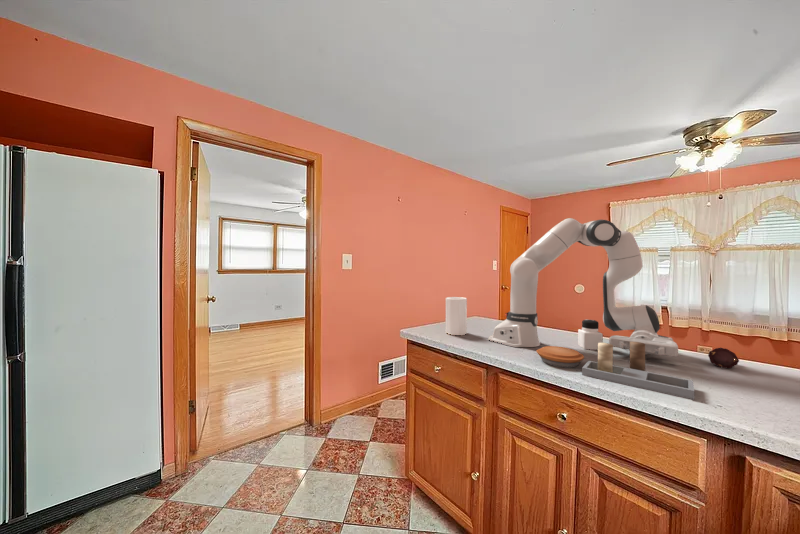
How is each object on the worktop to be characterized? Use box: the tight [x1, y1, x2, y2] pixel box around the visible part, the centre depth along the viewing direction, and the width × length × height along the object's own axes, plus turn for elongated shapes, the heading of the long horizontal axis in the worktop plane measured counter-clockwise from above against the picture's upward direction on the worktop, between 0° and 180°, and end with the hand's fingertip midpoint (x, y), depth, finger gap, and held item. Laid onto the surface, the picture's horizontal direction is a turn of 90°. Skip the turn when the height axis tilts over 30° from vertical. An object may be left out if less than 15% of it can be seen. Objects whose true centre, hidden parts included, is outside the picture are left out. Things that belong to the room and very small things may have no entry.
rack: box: [581, 360, 695, 401], centre depth 92 cm, size 26×10×2 cm, turn 47°
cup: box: [445, 296, 468, 336], centre depth 156 cm, size 11×11×18 cm
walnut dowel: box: [629, 342, 646, 371], centre depth 99 cm, size 4×4×10 cm
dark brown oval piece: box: [707, 347, 740, 369], centre depth 105 cm, size 7×7×15 cm
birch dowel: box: [597, 342, 614, 373], centre depth 97 cm, size 4×4×10 cm
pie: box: [535, 345, 585, 369], centre depth 110 cm, size 16×16×5 cm
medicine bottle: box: [577, 319, 604, 351], centre depth 130 cm, size 7×7×12 cm
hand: (640, 349), depth 108 cm, fingers open, 8 cm apart
